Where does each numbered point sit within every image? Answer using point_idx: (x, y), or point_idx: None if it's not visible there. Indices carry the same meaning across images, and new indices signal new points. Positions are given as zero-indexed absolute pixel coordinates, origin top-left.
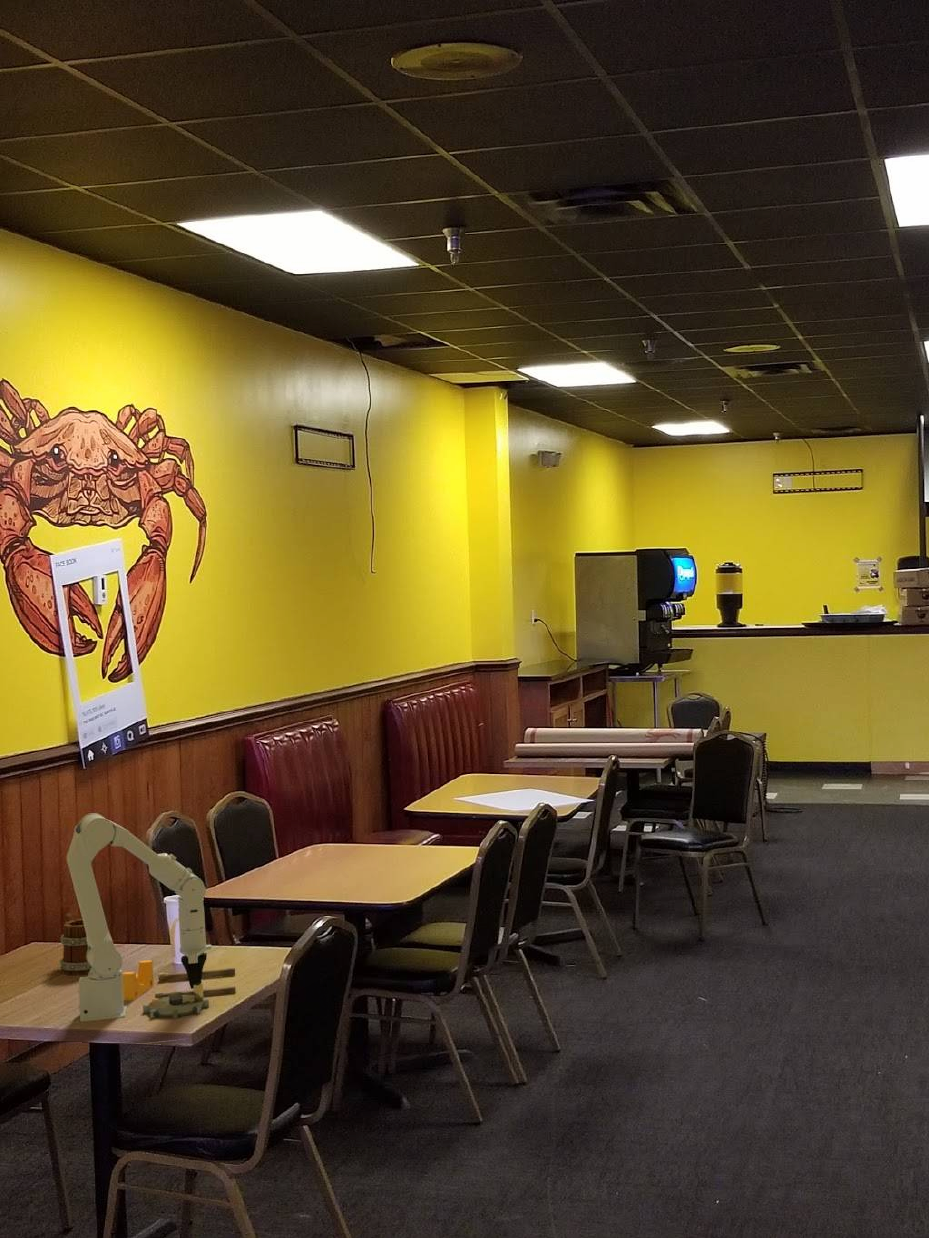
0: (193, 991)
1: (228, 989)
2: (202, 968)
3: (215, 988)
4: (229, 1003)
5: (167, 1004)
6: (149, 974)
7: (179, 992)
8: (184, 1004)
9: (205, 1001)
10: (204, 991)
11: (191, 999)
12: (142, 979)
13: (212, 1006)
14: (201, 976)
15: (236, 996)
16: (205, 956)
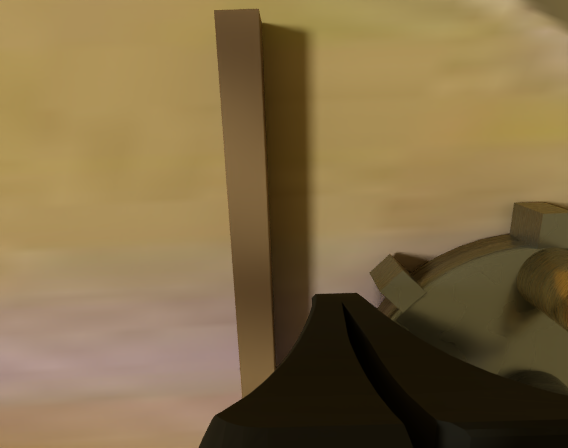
0: (268, 319)
1: (260, 72)
2: (476, 369)
3: (234, 175)
4: (487, 65)
5: None
6: None
7: None
8: None
9: (564, 232)
10: (268, 249)
11: (498, 324)
12: None
13: (505, 180)
14: (402, 327)
15: (323, 15)
16: (403, 444)
